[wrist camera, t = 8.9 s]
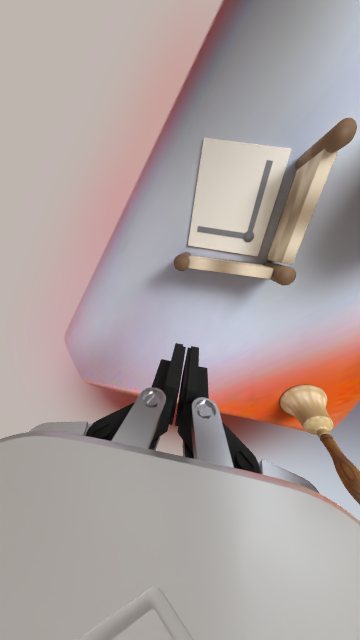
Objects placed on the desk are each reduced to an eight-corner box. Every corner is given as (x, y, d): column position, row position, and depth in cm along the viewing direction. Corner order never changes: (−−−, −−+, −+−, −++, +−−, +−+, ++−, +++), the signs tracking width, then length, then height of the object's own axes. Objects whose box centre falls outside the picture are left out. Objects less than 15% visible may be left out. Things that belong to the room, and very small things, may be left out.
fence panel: (260, 262, 24) (278, 267, 19) (257, 274, 25) (272, 283, 20) (180, 251, 25) (174, 253, 19) (179, 264, 26) (173, 269, 20)
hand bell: (272, 408, 35) (321, 522, 21) (292, 379, 32) (367, 491, 18) (311, 418, 35) (387, 539, 21) (335, 390, 32) (446, 512, 17)
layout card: (203, 138, 20) (203, 136, 19) (290, 150, 19) (292, 148, 19) (187, 245, 25) (187, 245, 24) (257, 256, 24) (258, 256, 24)
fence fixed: (299, 152, 19) (337, 116, 14) (316, 154, 19) (362, 119, 14) (258, 275, 25) (274, 283, 20) (272, 277, 25) (291, 286, 20)
